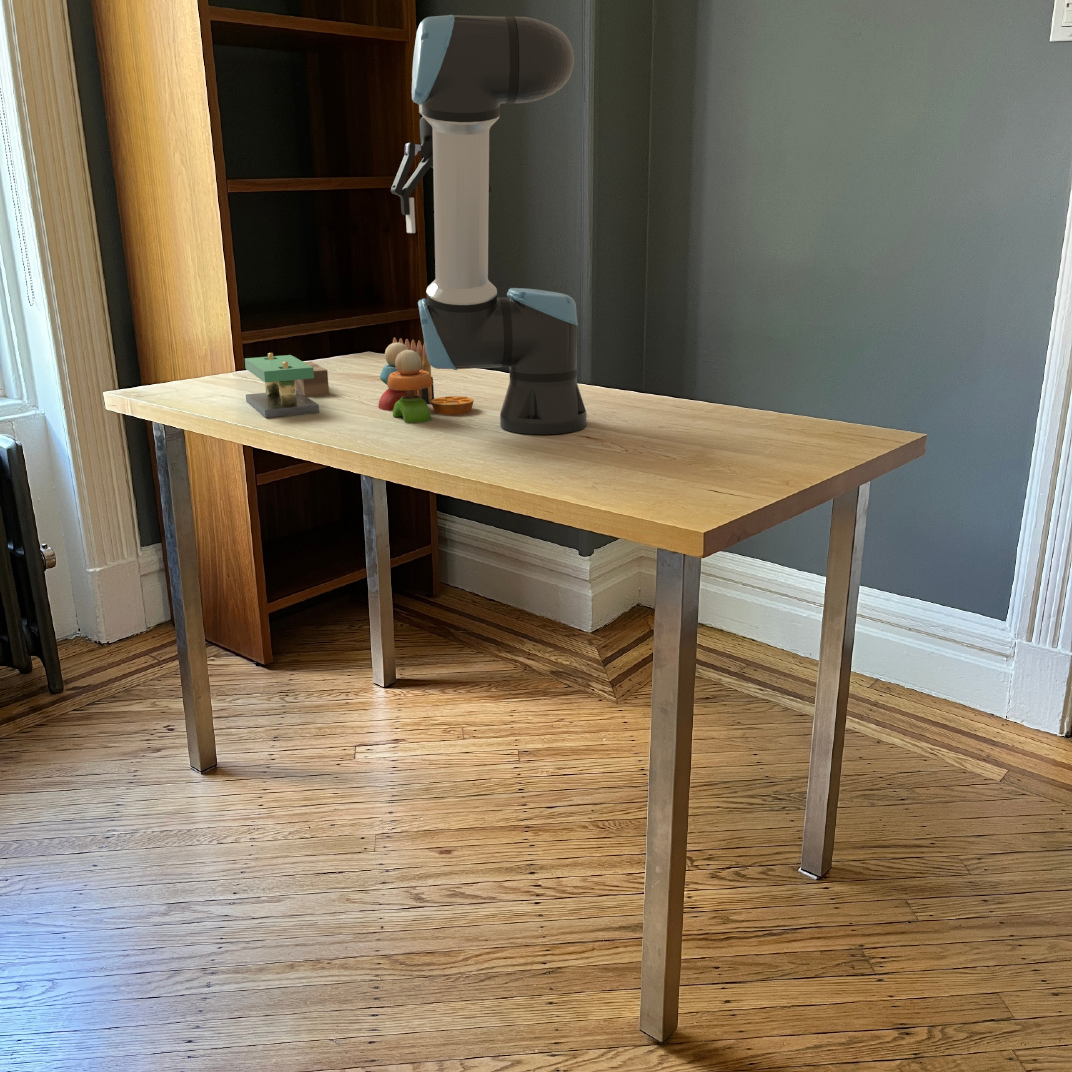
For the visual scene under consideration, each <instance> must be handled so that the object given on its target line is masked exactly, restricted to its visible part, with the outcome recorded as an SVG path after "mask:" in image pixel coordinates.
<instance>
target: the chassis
mask: <svg viewBox="0 0 1072 1072" xmlns="http://www.w3.org/2000/svg"><path fill="white" fill-rule="evenodd" d="M273 356H274V353H273V352H269V353H267V357H268V360H271V359H273ZM282 364H283V369H286V368H288V362H282ZM264 388H265V392H260V393H249V394H245V401H246V403H247V404H248V405H250V406H251V407H252V408H253V409H254V410H255V411H256V412H257V413H259V415H261V416H262V417H263V418H264V419H269V418H270V419H271V418H272V419H273V418H280V417H281V418H282V417H292V416H299V415H308V414H319V413H320V405H319V403H317V402H315V401H314V400H312V399H310V397H309V396H305V395H303V394H302V393H300V392H299V391H297V390H296V386H295V380H288V381H277V382H264Z"/></svg>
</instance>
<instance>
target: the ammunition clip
mask: <svg viewBox="0 0 1072 1072" xmlns="http://www.w3.org/2000/svg"><path fill="white" fill-rule="evenodd" d="M423 342H424V341H423ZM392 343H402V344H404V345H405V346H406V347H407V348H408V350H412V351H415V352H416V353H417V354H418V355H419V356H420V358H421V361H422V366H421V369H420V370H423V371H427V372H428V373H429V374H430V376H431V379H432V386H430V387H428V388H425V389H420V390H414V392H415V394H416V395H417V396H421V398H422V399H424V400H425V401H426V403H427V405H430V404H431V405H432V403H431V400H433V399H435V395H434V394H435V392H434V391H435V390H434V389H435V388H434V377H433V376H432V366H431V365H430V364H429V362H428V359H427V354H426V348H425V342H424V343H423V345H422V341H421V340H418V342H417V345H416V341H415V340H414V339H412V340H411V342H410V341H409V339H408V338H406V339H405V342H403V339H402V337H401V338H399V340H398V341H397V338H396V337H393V339H392Z"/></svg>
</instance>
